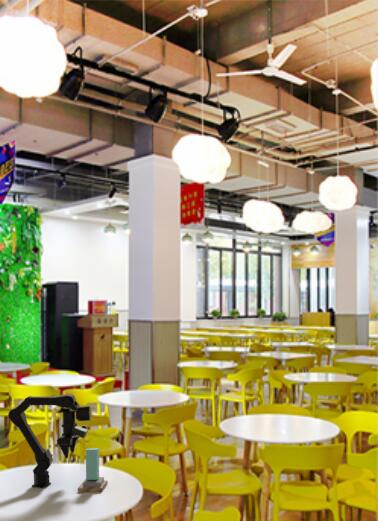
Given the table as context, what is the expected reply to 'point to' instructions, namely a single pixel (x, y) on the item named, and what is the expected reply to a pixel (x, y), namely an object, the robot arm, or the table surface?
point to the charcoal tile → (93, 482)
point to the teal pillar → (92, 464)
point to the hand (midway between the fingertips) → (69, 455)
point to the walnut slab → (92, 488)
